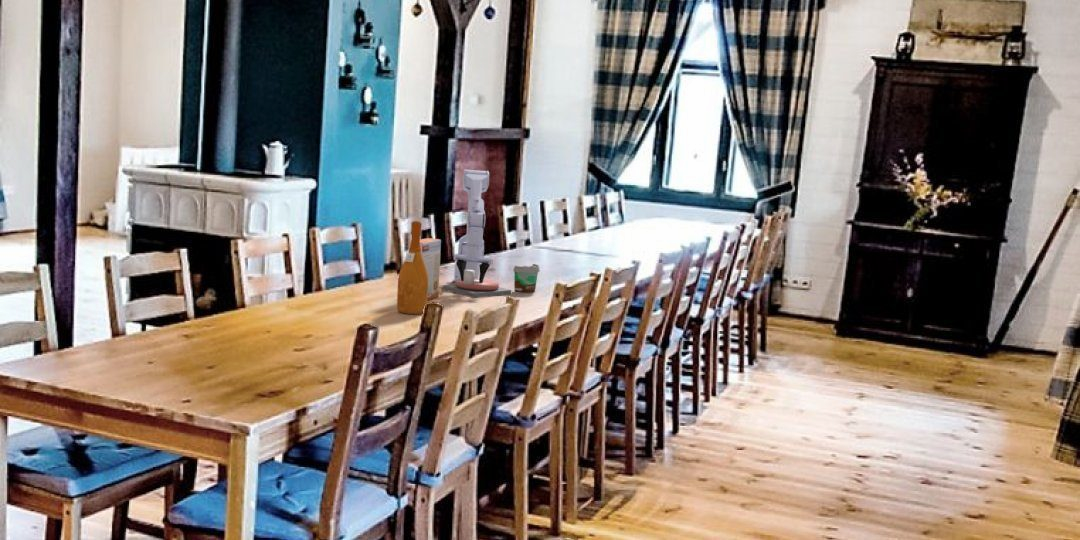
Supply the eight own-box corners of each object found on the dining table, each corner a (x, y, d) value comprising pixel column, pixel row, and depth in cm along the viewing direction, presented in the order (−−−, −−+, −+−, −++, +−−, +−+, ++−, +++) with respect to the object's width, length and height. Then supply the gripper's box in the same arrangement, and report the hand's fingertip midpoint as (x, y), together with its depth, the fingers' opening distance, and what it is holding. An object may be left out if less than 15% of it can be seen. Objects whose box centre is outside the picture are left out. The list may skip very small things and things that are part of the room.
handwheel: (470, 281, 416) (472, 264, 415) (506, 287, 408) (507, 270, 407) (447, 285, 402) (448, 268, 401) (483, 291, 395) (484, 274, 394)
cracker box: (423, 295, 390) (427, 237, 387) (438, 297, 388) (442, 239, 385) (404, 300, 377) (408, 240, 374) (420, 303, 375) (423, 242, 372)
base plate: (442, 289, 406) (442, 285, 405) (478, 286, 418) (479, 282, 418) (474, 297, 393) (474, 293, 393) (510, 294, 406) (511, 290, 405)
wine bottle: (392, 309, 360) (397, 218, 356) (421, 309, 364) (426, 219, 360) (401, 315, 352) (406, 222, 347) (430, 315, 356) (435, 223, 351)
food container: (524, 294, 407) (526, 268, 405) (511, 292, 410) (513, 265, 409) (544, 291, 416) (546, 265, 415) (531, 289, 420) (533, 263, 419)
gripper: (451, 243, 395) (449, 280, 397) (489, 248, 392) (487, 285, 394) (458, 241, 402) (456, 278, 404) (495, 246, 398) (493, 282, 400)
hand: (471, 281), depth 399 cm, fingers open, 6 cm apart
